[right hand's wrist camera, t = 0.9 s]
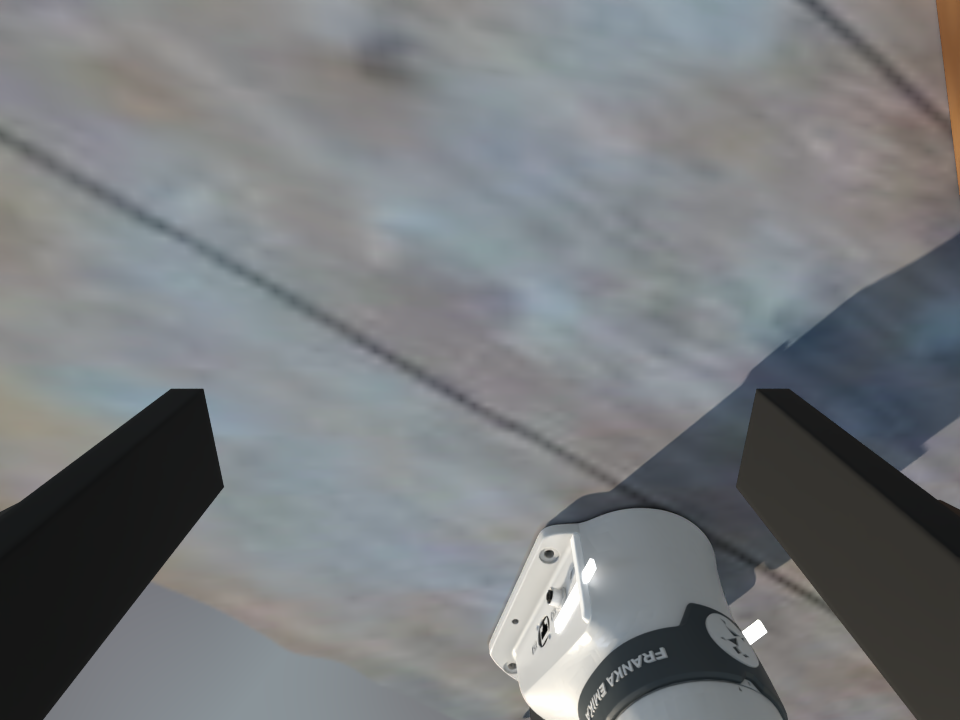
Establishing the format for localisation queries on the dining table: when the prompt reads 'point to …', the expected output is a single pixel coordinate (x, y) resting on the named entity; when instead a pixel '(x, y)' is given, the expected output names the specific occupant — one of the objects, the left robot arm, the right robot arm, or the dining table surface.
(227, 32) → the dining table surface
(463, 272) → the dining table surface
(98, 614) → the right robot arm
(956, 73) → the bar
